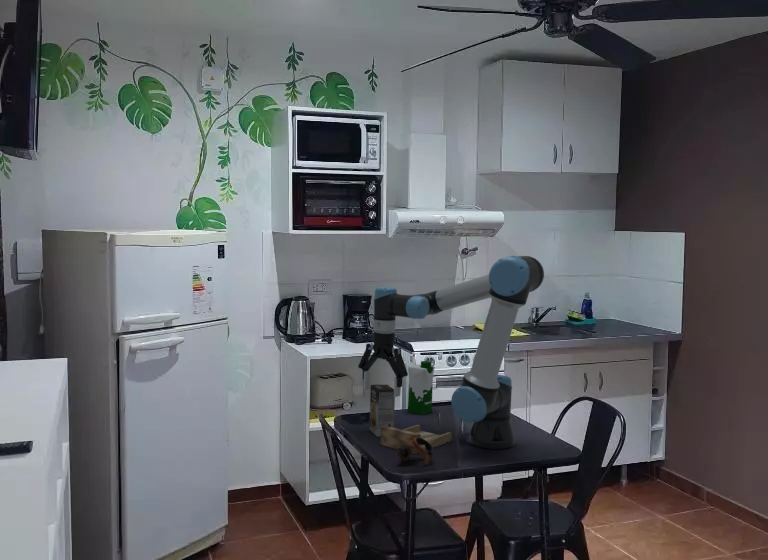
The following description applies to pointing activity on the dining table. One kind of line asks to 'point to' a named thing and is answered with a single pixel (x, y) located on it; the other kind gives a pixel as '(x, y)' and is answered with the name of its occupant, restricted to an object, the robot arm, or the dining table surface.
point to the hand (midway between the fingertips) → (381, 392)
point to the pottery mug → (416, 449)
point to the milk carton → (420, 388)
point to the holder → (411, 437)
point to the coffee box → (381, 408)
